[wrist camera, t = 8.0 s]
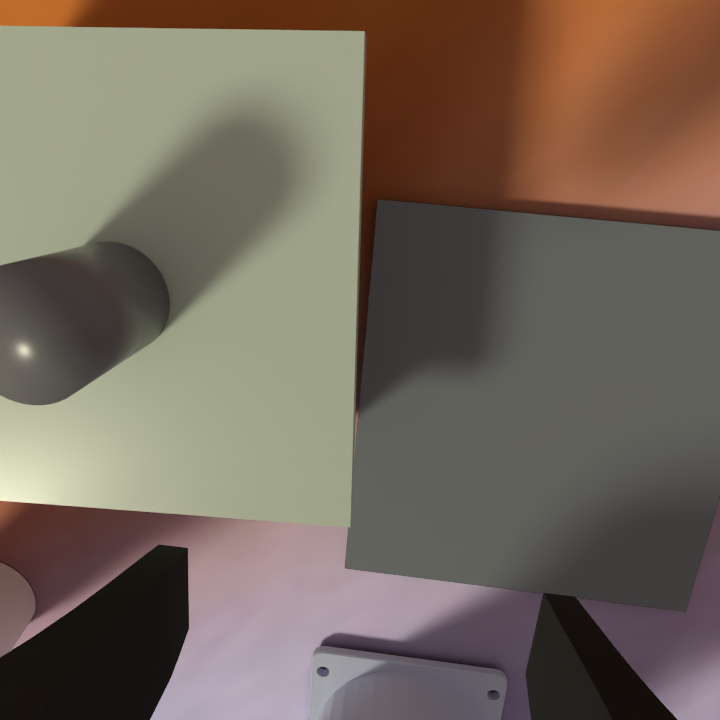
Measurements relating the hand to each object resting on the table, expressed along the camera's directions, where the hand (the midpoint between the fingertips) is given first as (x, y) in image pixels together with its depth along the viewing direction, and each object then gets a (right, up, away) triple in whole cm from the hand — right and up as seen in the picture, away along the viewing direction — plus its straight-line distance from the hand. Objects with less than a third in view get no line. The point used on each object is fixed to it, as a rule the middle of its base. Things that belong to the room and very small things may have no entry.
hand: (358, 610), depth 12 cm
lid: (-6, +7, +5) cm, 10 cm away
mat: (+6, +3, +9) cm, 12 cm away
